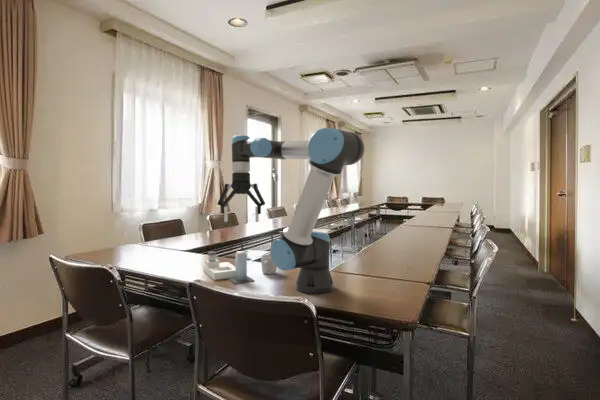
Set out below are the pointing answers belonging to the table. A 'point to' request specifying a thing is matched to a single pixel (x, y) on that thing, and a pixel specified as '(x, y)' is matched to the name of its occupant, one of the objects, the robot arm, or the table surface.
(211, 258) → the plunger
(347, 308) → the table surface
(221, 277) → the housing
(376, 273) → the table surface
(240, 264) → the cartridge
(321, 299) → the table surface
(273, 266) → the cup
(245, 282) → the pad
